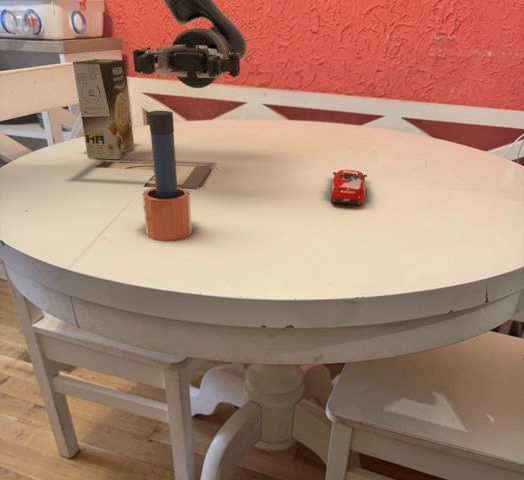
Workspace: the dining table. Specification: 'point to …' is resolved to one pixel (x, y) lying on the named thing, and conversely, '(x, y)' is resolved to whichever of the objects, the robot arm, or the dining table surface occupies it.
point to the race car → (348, 187)
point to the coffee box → (104, 107)
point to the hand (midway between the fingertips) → (177, 66)
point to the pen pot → (167, 216)
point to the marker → (163, 154)
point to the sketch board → (185, 173)
